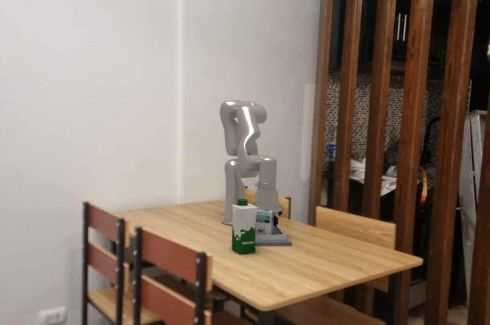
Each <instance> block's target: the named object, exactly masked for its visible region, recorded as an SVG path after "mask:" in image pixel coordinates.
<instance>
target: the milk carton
mask: <svg viewBox="0 0 490 325" xmlns="http://www.w3.org/2000/svg"><path fill="white" fill-rule="evenodd" d="M248 201H249V200H248V199H247V198H245V199H238V201H237V204H235V205H232V212H233V222H232V225H231V228H232V229H231V230H232V231H231V250H233V251H234V252H235V253H237V254H238V255H244V254H252V253H256V246H255V235H256V215H257V211H258V207H255V206H254V205H251V204H252V203H249V202H248Z"/></svg>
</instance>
